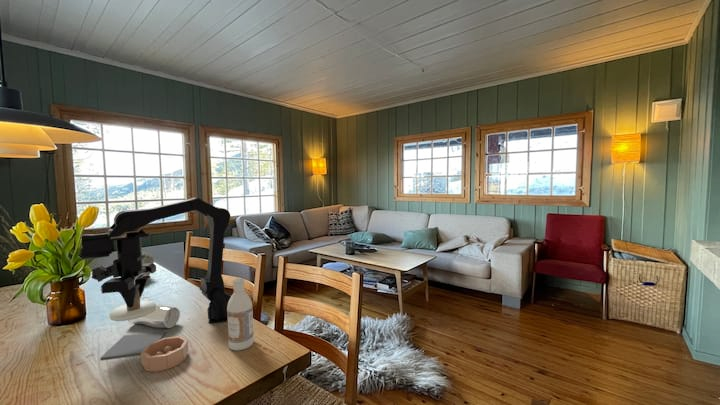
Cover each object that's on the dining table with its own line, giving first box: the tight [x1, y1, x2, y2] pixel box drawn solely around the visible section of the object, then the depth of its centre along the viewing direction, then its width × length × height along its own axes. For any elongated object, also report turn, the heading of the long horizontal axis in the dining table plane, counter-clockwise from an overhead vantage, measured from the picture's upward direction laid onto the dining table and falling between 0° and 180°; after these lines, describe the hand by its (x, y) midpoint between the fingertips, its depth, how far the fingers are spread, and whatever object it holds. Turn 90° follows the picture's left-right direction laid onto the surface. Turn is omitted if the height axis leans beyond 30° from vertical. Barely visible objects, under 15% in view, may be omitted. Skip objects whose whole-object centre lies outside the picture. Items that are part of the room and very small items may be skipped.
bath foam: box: [227, 277, 255, 352], centre depth 88 cm, size 7×7×20 cm
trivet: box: [100, 330, 167, 360], centre depth 89 cm, size 12×12×1 cm
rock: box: [142, 250, 155, 276], centre depth 146 cm, size 15×18×15 cm
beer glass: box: [127, 305, 181, 329], centre depth 101 cm, size 7×7×15 cm
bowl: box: [140, 335, 189, 373], centre depth 81 cm, size 10×10×4 cm
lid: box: [109, 290, 157, 322], centre depth 88 cm, size 11×11×6 cm
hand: (133, 304), depth 88 cm, fingers closed on lid, 3 cm apart
